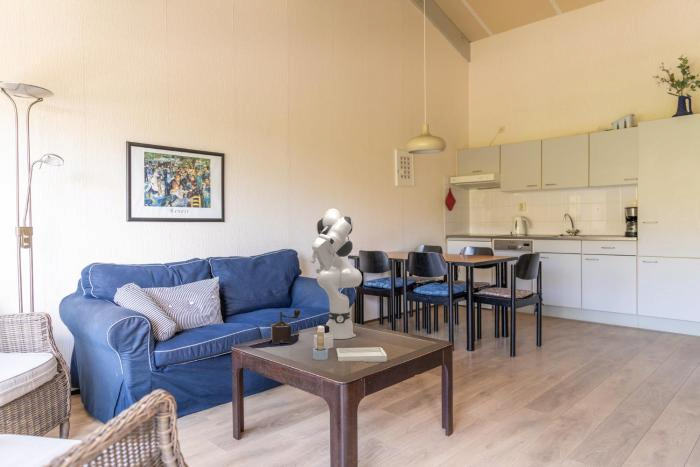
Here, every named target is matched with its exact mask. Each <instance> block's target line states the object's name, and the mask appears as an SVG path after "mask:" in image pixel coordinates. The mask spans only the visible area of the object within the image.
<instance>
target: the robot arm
mask: <svg viewBox="0 0 700 467" xmlns="http://www.w3.org/2000/svg"><path fill="white" fill-rule="evenodd" d="M353 229H354V222H353V220H352V218H351V217H350V216H347V215H345V216H342V214H341V212H340V210H338V209H336V208H333V207H332V208H329V209H327V210H326V211H325V213H324V215H323V217H321V219H320V220H318V222H317V224H316V232H317V234H318V237H317V238H316V239H315V240H314V242H313V244H312V246H311V249H312V252H313V253H312V256H311V258H310V263H312V264H314V263H315V262H316V260H317V261H318V263H319V265H320V266H319V267H318V268H316V270H315V272H316V274H317V275H316V282H317V284H318V285H319V286H320V288H322V289H323V290H324V291H325V293H326V294H327V296H328V302H329V312H328V321H327V322H326V324H325V325H327V326H329V335H333V340H347V339H350V338H355V337H357V335H356V333H354V330H353V328H354V327H353V321H352V320H351V319H350V318H351V312H350V299H349V297H348V295H345V294H344V293H342V292H340V291H339V289H342V288H343V289H344V288H345V289H348V288H349V289H351V288H355V287H360V285H361V284H362V281H363V276H362V273H361V272H360V270H359V269H357V268H355V267H354V265H352V264H351V263H350V261H349V257H348V256H349V255H350V254H351V253H352V250H353V248H354V247H353V245H354V244H353V242H352V241H351V240H350V237H349V235H351V233H352V232H353ZM332 267H333V268H332Z"/></svg>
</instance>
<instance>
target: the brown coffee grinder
mask: <svg viewBox="0 0 700 467" xmlns="http://www.w3.org/2000/svg"><path fill="white" fill-rule="evenodd" d="M301 313H302V312H301V310H300V309H298V308H297V309H296V308H295V309H294V310H293V316H292V315H284V314H283V311H280V312H279V319H280V320H279V321H276V322H275V323H271V324H270V340H271V339H272V342H291V343H292V326H291V323H290V322H286V321H284V320H282V319H283V318H289V319H293V320H296V319H299V316H300V315H301Z"/></svg>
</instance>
